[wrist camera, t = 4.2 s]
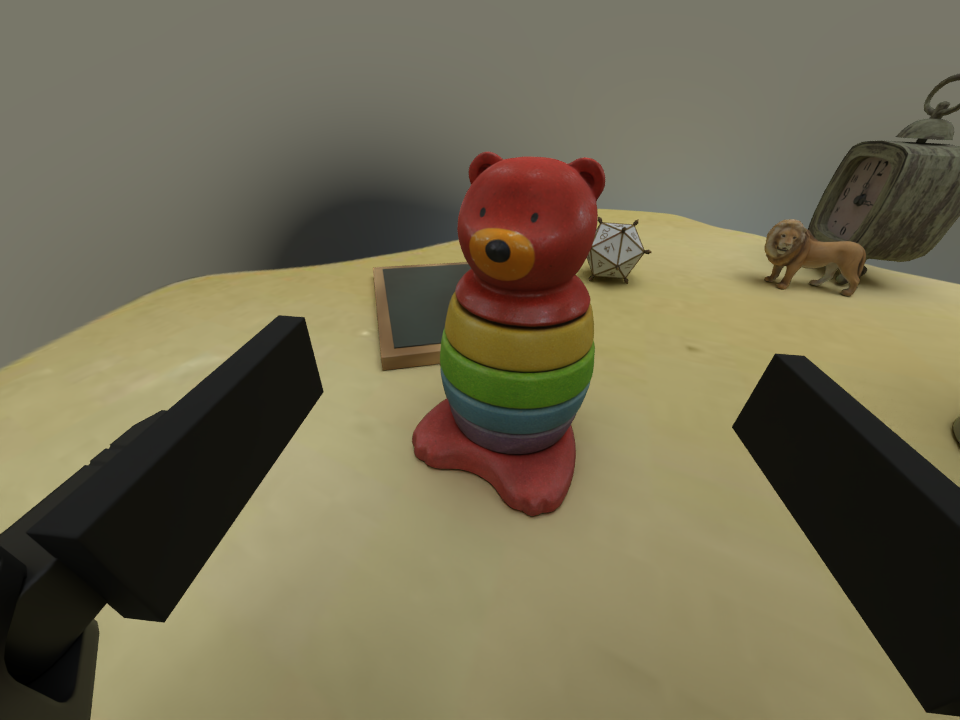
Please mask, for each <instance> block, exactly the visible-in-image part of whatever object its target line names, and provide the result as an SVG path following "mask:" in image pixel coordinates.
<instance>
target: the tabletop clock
mask: <svg viewBox="0 0 960 720" xmlns="http://www.w3.org/2000/svg"><path fill="white" fill-rule="evenodd" d="M957 80H960V74H957V75H953V76H950V77H948V78H947V79H945V80H943V81H942V82H941V83H939V84H938V85H937V86H936V87H935V88H934V89H933V90H932V91H931V93H930V94H929V95H928V97H927V99H926V101H925V104H924V111H925V112H926V113H927V114H928V115H931V117H930V118H929V119H923V120H919V121H916V122H914V123H912V124H910V125H908V126H907V127H906V128H904V129H903V130H902V131H901V132H900V133H899V134H898V135H897V136H896V137H903V138H918V140H917V141H916V143H915V142H896V141H867V142H861V143H859V144H857V145H855V146H853V147H852V148H851V149H850V150H849V152H848V153H847V155H846V156H845V157H844V159H843V160H842V162H841V163H840V165H839V167H838V168H837V170H836V172H835V174H834V175H833V177H832V179H831V181H830V183H829V184H828V186H827V188H826V189H825V191H824V193H823V195H822V198H821V200H820V202H819V204H818V206H817V208H816V210H815V212H814V215H813V217H812V219H811V222H810V225H809V228H808V230H809V231H810V232H811V234H812V235H813V237H814V238H815V239H817V240H818V241H820V242H839V241H851V242H855V243H857V244H859V245H861V246H862V247H863V248H864V250H865V253H866V260H867V259H878V260H887V261H897V262H904V261H910V260H913V259H916V258H919V257H922V256H925V255H926V254H927V253H928V252H929V251H930V250H932V249H933V248H934V247H935V245H936V244H937V243H938V242H939V241H940V240H941V239H942V238H943V236H944V235H945V234H946V233H947V231H948V230H949V229H950V227H951V226H952V225H953V224H954V222H955V221H956V220H957V219H958V217H959V216H960V147H959V146H954V145H950V144H934V143H932V144H931V143H925V142H926V141H927V139H937V140H952V139H953V135H954V127H953V125H952V123H951V122H949V121H947V120H943V119H941V118H942V116H944V115H948V114H951V113H953V112H955V111H957V110H959V109H960V104H958V105H957V106H955V107H952V108H949V109H948V107H949V105H950V104H949V102H946V101H945V102H942V103H939V104H938V105H937V107H936V109H933V108H932V107H931V106H930V100H931V98H932V97H933V95H934V94H935V93H936V92H937V91H938V90H939V89H940V88H942V87H943V86H944V85H946V84H948V83H949V82H953V81H957ZM866 260H865V262H866ZM866 272H867V268H866V267H865V266H864V267H863V270H862V272H861V274H860V276H862V275H864V274H865V273H866ZM836 281H837V283H839V284H846V283H848V281H847V280H846V279H845V278H844V277H843V275H842V274H839V275H838V276H837V277H836Z"/></svg>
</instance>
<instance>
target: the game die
mask: <svg viewBox="0 0 960 720" xmlns="http://www.w3.org/2000/svg"><path fill="white" fill-rule="evenodd" d="M638 220H639V219H638ZM638 220H636V221H635V222H634V223H633V225H632V224H618V223H604V222H602V218H600V217H598V221H599V223H600V225H599V226H598V228H597V230H596V233H595V237H594V241H593V244H592V247H591V249H590V252H589V254H588V256H587V260H588V263H589V266H590V269H591V272H592V276H591V277H589V281H590V280H593V278H594V276H598V277H611V278H623V279H624V282H625V283H627V284H628V279H627V278H626V277H627V276H628V274H629V273H630V272H631V270H632V269H633V268H634V266H635V265H636V264H637V262H638V261H639V260H640V258H641V257H642V256H643V254H644V253H646V254H649V253H651V251H650V250H646V251H645V250H644V248H643V245H642V243H641V240H640V238H639V235H638V233H637V230H636V228H635V225H637V224H638Z"/></svg>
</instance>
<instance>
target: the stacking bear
mask: <svg viewBox="0 0 960 720" xmlns="http://www.w3.org/2000/svg"><path fill="white" fill-rule="evenodd" d="M469 179H470V182H471V186H470V188H469V189H468V191H467V193H466V195H465V198H464V200H463V202H462V205H461V209H460V213H459V217H458V237H459V242H460V246H461V249H462V252H463V254H464V257H465V259H466V261H467V263H468V264H469V266H470V267H471V269H470V270H469V271H467V272H466V273H465V274H464V275H463V277H462V278H461V279H460V281H459V282H458V284H457V286H456V290H455V292H454V294H453V295H452V297H451V300H450V303H449V307H448V311H447V316H446V322H445V328H444V330H443V335H442V340H441V349H440V365H441V376H442V382H443V386H444V391H445V394H446V397H447V399H445V400H444V401H442V402H441V403H439V404H438V405H437V406H435V407H434V408H433V409H432V410H431V411H430V412H429V413H428V414H427V415H426V416H425V417H424V418H423V419H422V420H421V421H420V423H419V424H418V425H417V427H416V429H415V431H414V433H413V438H412V442H413V445H414V447H415V448H414V453H415V455H416V457H417V458H419V459H420V460H422V461H424V462H425V463H426V464H427V465H429V466H431V467H434V468H440V469H446V468H448V469H462V470H466V471H470V472H472V473H475V474H477V475H479V476H481V477H482V478H484V479H486V480H487V481H488V482H490V483H491V484H492V485H493V486H494V488H495V489H496V490H497V491H498V493H499V495H500V496H501V497H502V499H503V500H504V502H506V503H507V504H508V505H509V506H510V507H512V508H514V509H517V510H521V511H523V512H524V513H526V514H528V515H530V516H534V515H538V514H540V513H548V512H552V511H554V510H555V509H557V508H558V507H559V506H560V505H561V503H562V501H563V500H564V498H565V496H566V494H567V492H568V489H569V487H570V484H571V481H572V477H573V473H574V467H575V458H576V449H575V439H574V434H573V430H572V426H571V423H572V421H573V420H574V418H575V415H576V413H577V411H578V410H579V408H580V406H581V404H582V402H583V400H584V398H585V395H586V393H587V390H588V388H589V385H590V380H591V377H592V373H593V367H594V352H595V346H594V341H593V338H594V321H593V311H592V306H591V304H590V296H589V293H588V291H587V289H586V287H585V285H584V284H583V282H582V281H581V280H580V279H579V278H578V277H577V276H576V275H575V274H576V273H577V272H578V271H579V269H580V268H581V266H582V265H583V263H584V261H585V259H586V258H587V256H588V254H589V252H590V249H591V247H592V244H593V241H594V237H595V233H596V227H597V216H598V214H597V205H596V201H597V199H598V198H599V196H600V194H601V193H602V191H603V189H604V186H605V174H604V170H603V169H602V166H601V165H600V164H599V163H598V162H596V161H595V160H594V159H590V158H579V159H576V160H575V161H573V162H571V163H569V164H566V163H564V162H562V161H559V160H556V159H551V158H544V157H518V158H510V159H505V160H503V159H502V158H501V157H499V156H498V155H497V154H495V153H492V152H483V153H481V154H479V155H478V156H477V157H476V158H475V159H474V160H473V161H472V163H471V165H470V167H469Z"/></svg>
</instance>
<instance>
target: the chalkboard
mask: <svg viewBox="0 0 960 720" xmlns="http://www.w3.org/2000/svg"><path fill="white" fill-rule="evenodd" d="M470 269H471V267H470V266H469V264H468V263H467V262H462V263H444V264H426V265H409V266H391V267H373V273H374V284H375V295H376V306H377V317H378V329H379V340H380V351H381V361H382V368H383V370H391V369H400V368H408V367H416V366H424V365H432V364H440V349H441V340H442V335H443V330H444V328H445V322H446V316H447V311H448V307H449V303H450V300H451V297H452V295H453V294H454V292H455V290H456V286H457V284H458V282H459V281H460V279H461V278H462V277H463V275H464V274H465V273H466V272H467V271H469V270H470Z"/></svg>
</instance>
